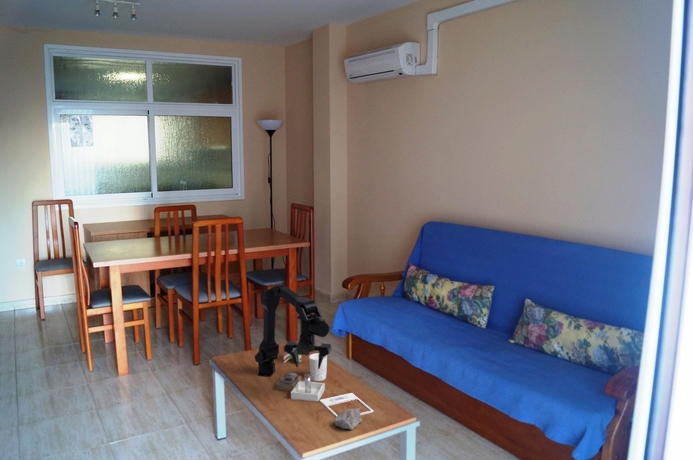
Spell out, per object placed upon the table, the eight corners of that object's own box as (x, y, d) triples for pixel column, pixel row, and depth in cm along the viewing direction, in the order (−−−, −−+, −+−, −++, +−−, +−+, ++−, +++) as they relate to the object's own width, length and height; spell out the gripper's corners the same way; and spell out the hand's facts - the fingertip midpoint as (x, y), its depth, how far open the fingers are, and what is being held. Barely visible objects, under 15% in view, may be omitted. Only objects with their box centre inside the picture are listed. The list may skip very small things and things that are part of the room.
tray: (291, 399, 227) (290, 392, 227) (299, 387, 238) (299, 381, 238) (317, 401, 225) (317, 394, 225) (324, 390, 236) (324, 383, 235)
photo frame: (352, 392, 232) (373, 410, 216) (352, 394, 232) (373, 413, 217) (319, 399, 226) (339, 418, 210) (319, 402, 226) (339, 421, 210)
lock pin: (303, 394, 230) (302, 376, 229) (305, 391, 233) (304, 373, 232) (310, 395, 230) (310, 377, 228) (312, 392, 233) (312, 373, 231)
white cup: (328, 374, 252) (328, 353, 250) (326, 382, 244) (325, 360, 242) (311, 374, 252) (310, 352, 251) (308, 381, 245) (307, 359, 243)
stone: (331, 426, 206) (331, 410, 205) (350, 417, 213) (350, 402, 212) (346, 433, 200) (347, 418, 200) (365, 424, 207) (365, 409, 207)
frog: (281, 355, 259) (300, 357, 259) (285, 336, 266) (304, 338, 266) (281, 367, 268) (300, 369, 268) (285, 349, 275) (303, 351, 275)
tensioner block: (284, 379, 247) (284, 370, 246) (301, 381, 245) (301, 372, 244) (276, 389, 237) (276, 380, 236) (294, 391, 235) (294, 382, 234)
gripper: (278, 336, 222) (279, 373, 224) (324, 339, 218) (325, 377, 220) (287, 327, 232) (288, 363, 235) (331, 330, 229) (332, 366, 231)
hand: (308, 367), depth 230 cm, fingers open, 9 cm apart
